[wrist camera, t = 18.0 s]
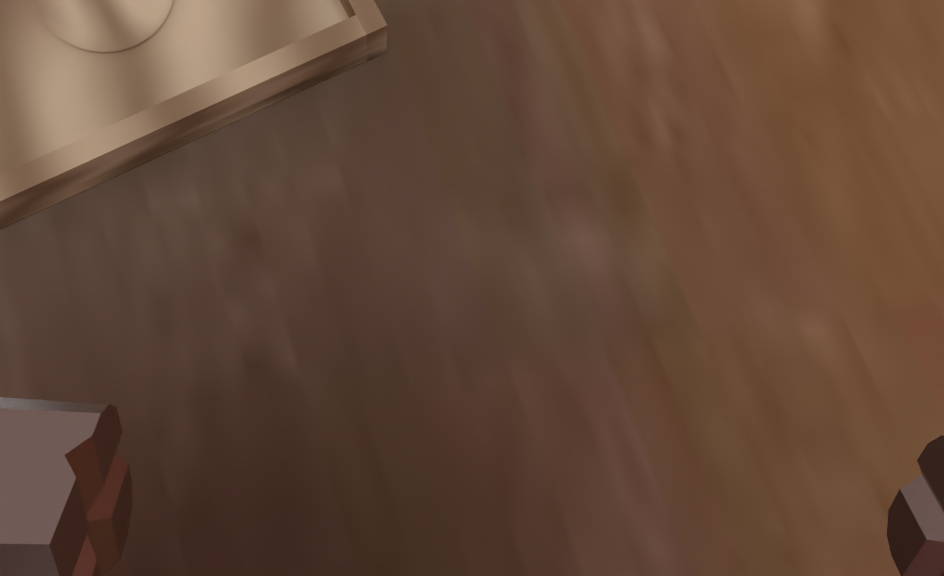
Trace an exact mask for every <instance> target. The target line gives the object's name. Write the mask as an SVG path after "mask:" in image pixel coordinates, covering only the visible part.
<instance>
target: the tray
mask: <svg viewBox="0 0 944 576" xmlns="http://www.w3.org/2000/svg"><path fill="white" fill-rule="evenodd" d="M386 47H387V24H386V22H385V20H384V18H383V16H382V15H381V13H380V11H379V9H378V7H377V5H376V3H375V1H374V0H173V4H172V7H171V10H170V12H169V15H168V16H167V18H166V20H165V21H164V23H163V24H162V26H161V27H160V28H159V29H158V30H157V31H156V32H155V33H154V34H153V35H152V36H151V37H150V38H148V39H147V40H145V41H144V42H142V43H140V44H138V45H136V46H134V47H132V48H129V49H126V50H122V51H117V52H106V53H102V52H92V51H87V50H83V49H80V48H77V47H75V46H72V45H70V44H68V43H66V42H65V41H63V40H62V39H60V38H59V37H57V36H56V35H55V34H54V33H53V32H52V31H51V30H50V29H49V28H48V27H47V26H46V25H45V23H44V22H43V21H42V19H41V18H40V16H39V14H38V12H37V10H36V8H35V5H34V3H33V0H0V229H2V228H4V227H6V226H8V225H10V224H13V223H15V222H17V221H19V220H21V219H23V218H26V217H28V216H30V215H32V214H34V213H37V212H39V211H41V210H43V209H45V208H47V207H50V206H52V205H54V204H56V203H58V202H60V201H63V200H65V199H67V198H69V197H71V196H74V195H76V194H78V193H80V192H82V191H84V190H87V189H89V188H91V187H93V186H95V185H97V184H100V183H102V182H104V181H106V180H108V179H111V178H113V177H115V176H117V175H119V174H121V173H124V172H126V171H128V170H130V169H132V168H134V167H137V166H139V165H141V164H143V163H145V162H148V161H150V160H152V159H154V158H156V157H158V156H161V155H163V154H165V153H167V152H169V151H171V150H174V149H176V148H178V147H180V146H182V145H185V144H187V143H189V142H191V141H193V140H195V139H198V138H200V137H202V136H204V135H206V134H208V133H211V132H213V131H215V130H217V129H219V128H222V127H224V126H226V125H228V124H230V123H232V122H235V121H237V120H239V119H241V118H243V117H245V116H248V115H250V114H252V113H254V112H256V111H259V110H261V109H263V108H265V107H267V106H269V105H272V104H274V103H276V102H278V101H280V100H282V99H285V98H287V97H289V96H291V95H293V94H296V93H298V92H300V91H302V90H304V89H306V88H309V87H311V86H313V85H315V84H317V83H319V82H322V81H324V80H326V79H328V78H330V77H333V76H335V75H337V74H339V73H341V72H343V71H346V70H348V69H350V68H352V67H354V66H356V65H359V64H361V63H363V62H365V61H367V60H370V59H372V58H374V57H376V56H378V55H380V54H383V53H385V52H386Z"/></svg>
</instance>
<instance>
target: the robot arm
mask: <svg viewBox="0 0 944 576" xmlns="http://www.w3.org/2000/svg"><path fill="white" fill-rule="evenodd" d="M121 434H122V428H121V424H120V420H119V416H118V411H117V407H114V406H112V405H110V404H98V403H82V402H66V401H50V400H34V399H18V398H2V397H0V576H102V575H103V574H105V573H106V572H107V571H108V570H109V569H110V568H112V567H113V566H114V565H115V564H116V563H117V562H119V561H120V559H121V555H122V552H123V548H124V545H125V541H126V538H127V534H128V528H129V521H130V514H131V507H132V481H131V475H130V469H129V464H128V463H127V462H126V461H125V460H123V459H122V458H121V457H120V456H119V455H117V454H116V453H115V452H116V449H117V446H118V443H119V440H120V437H121ZM917 461H918V464H919V467H920V470H921V472H922V475H921V476H920V477H918V478H916V479H915V480H913V481H912V482H910V483H908V484H907V485H905V486H904V487H902V488H900V489H899V491H898V493H897V495H896V497H895V499H894V501H893V503H892V505H891V506H890V508H889V510H888V525H887V538H888V542H889V547H890V551H891V555H892V558H893V560H894V562H895V564H896V566H897V568H898V570H899V573H900V575H901V576H944V436H940V437H938V438H936V439H935V440H933V441H931V442H930V443H928V444H927V445H926V447H925V449H924V450H923V452H922V453H921V455H920V457H919V458H918V460H917Z"/></svg>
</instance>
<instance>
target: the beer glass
mask: <svg viewBox="0 0 944 576" xmlns="http://www.w3.org/2000/svg"><path fill="white" fill-rule="evenodd" d="M33 3H34V5H35V8H36V10H37V12H38V14H39V16H40V18H41V19H42V21H43V22H44V23H45V25H46V26H47V27H48V28H49V29H50V30H51V31H52V32H53V33H54V34H55V35H56V36H57V37H59V38H60V39H62V40H63V41H65V42H66V43H68V44H70V45H72V46H75V47H77V48H80V49H83V50H87V51H92V52H102V53H106V52H117V51H122V50H126V49H129V48H132V47H134V46H136V45H138V44H140V43H142V42H144V41H145V40H147V39H148V38H150V37H151V36H152V35H153V34H154V33H155V32H156V31H157V30H158V29H159V28H160V27H161V26H162V24H163V23H164V21H165V20H166V18H167V16H168V15H169V12H170V10H171V7H172V4H173V0H33Z"/></svg>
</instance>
